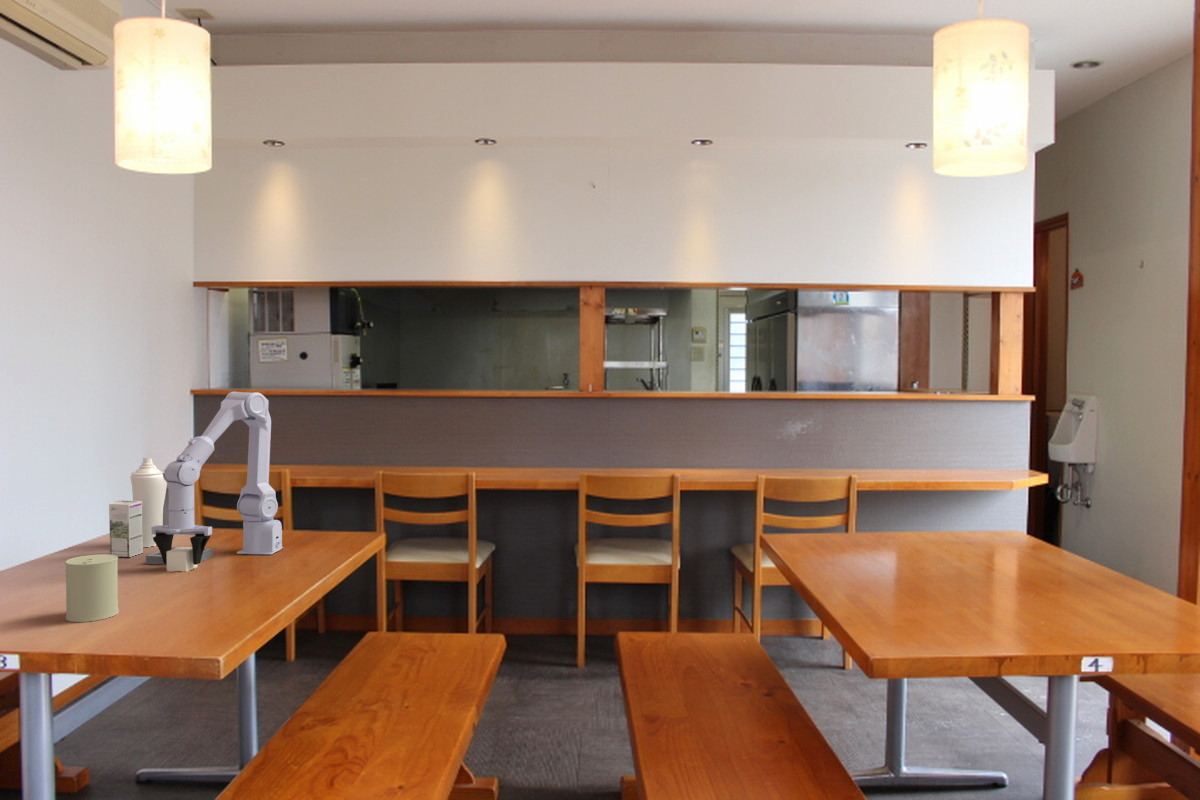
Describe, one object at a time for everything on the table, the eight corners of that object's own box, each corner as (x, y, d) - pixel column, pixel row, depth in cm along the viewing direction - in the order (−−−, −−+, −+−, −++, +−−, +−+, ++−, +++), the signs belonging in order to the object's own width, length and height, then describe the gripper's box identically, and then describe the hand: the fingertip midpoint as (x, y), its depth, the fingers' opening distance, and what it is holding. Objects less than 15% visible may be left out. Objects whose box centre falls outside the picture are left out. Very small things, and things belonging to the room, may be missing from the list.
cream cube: (197, 567, 208) (197, 547, 208) (186, 572, 203) (186, 552, 203) (178, 566, 208) (177, 547, 208) (166, 571, 203) (166, 551, 203)
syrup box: (143, 553, 222) (143, 500, 221) (129, 558, 216) (128, 503, 215) (123, 552, 222) (123, 499, 222) (108, 557, 217) (108, 503, 216)
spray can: (175, 541, 237) (174, 455, 236) (160, 549, 227) (160, 459, 226) (132, 542, 236) (131, 455, 235) (115, 550, 225) (114, 459, 224)
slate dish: (212, 556, 219) (212, 548, 219) (191, 565, 209) (191, 557, 209) (168, 555, 220) (168, 547, 220) (146, 564, 210) (146, 555, 210)
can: (61, 624, 161) (60, 563, 160) (70, 611, 169) (69, 553, 169) (115, 619, 165) (114, 559, 164) (121, 606, 173) (121, 550, 173)
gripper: (143, 511, 201) (144, 566, 202) (201, 512, 201) (201, 567, 201) (160, 506, 208) (161, 559, 209) (216, 507, 208) (216, 561, 208)
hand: (182, 563), depth 206 cm, fingers open, 7 cm apart
